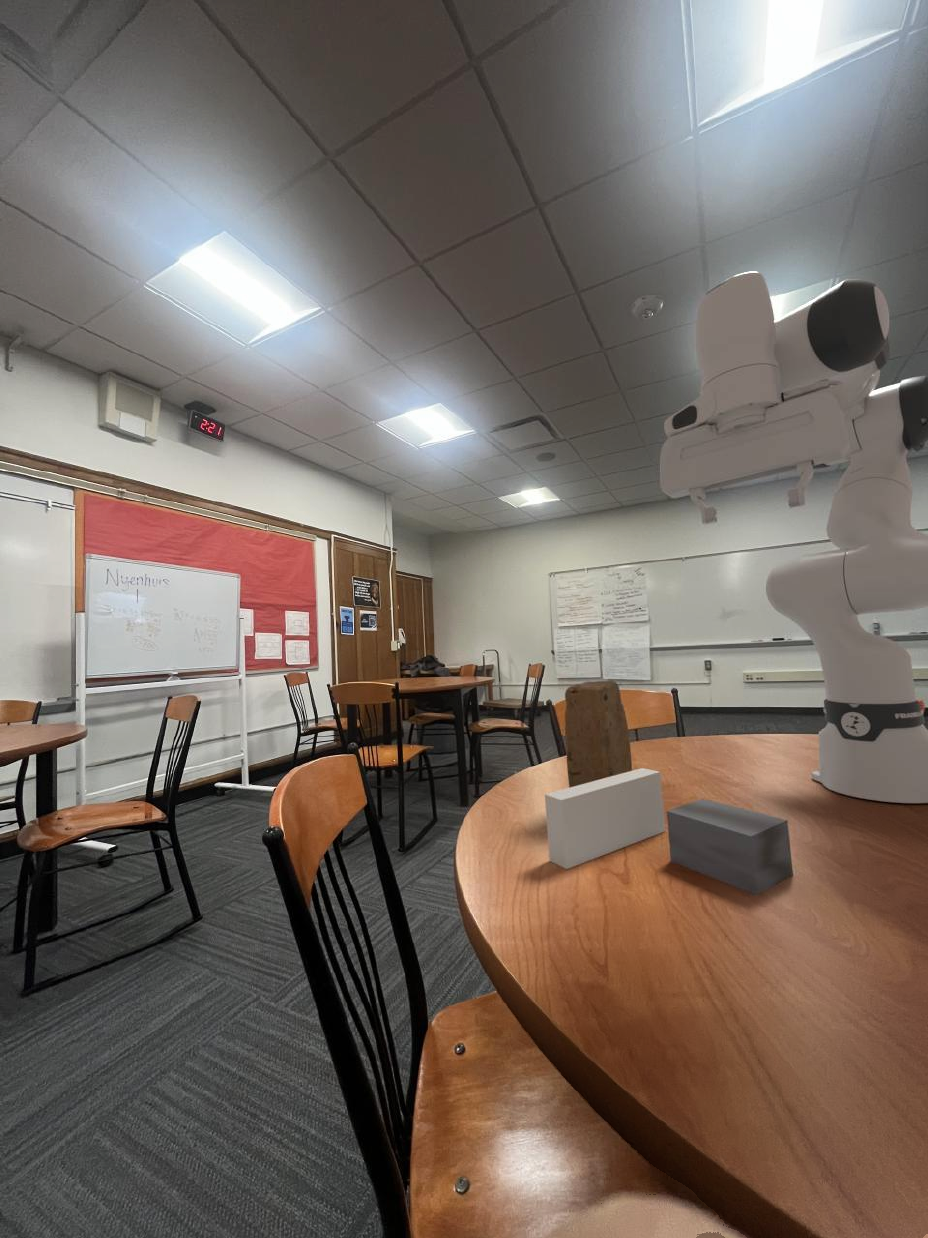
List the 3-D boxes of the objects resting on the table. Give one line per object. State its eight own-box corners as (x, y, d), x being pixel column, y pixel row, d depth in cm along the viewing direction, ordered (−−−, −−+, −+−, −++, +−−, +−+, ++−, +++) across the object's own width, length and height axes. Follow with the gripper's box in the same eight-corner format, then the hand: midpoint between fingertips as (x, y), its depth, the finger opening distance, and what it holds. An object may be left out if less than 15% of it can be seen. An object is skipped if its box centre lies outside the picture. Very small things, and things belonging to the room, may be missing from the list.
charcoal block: (707, 847, 61) (702, 798, 61) (793, 876, 52) (787, 820, 53) (671, 862, 58) (666, 811, 58) (757, 897, 49) (751, 836, 49)
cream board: (647, 825, 69) (642, 768, 69) (665, 831, 66) (660, 771, 67) (549, 860, 60) (544, 794, 60) (566, 869, 57) (561, 800, 57)
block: (611, 824, 70) (600, 685, 71) (565, 815, 75) (555, 685, 76) (641, 803, 78) (631, 678, 79) (598, 796, 83) (589, 679, 84)
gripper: (846, 383, 57) (859, 499, 56) (666, 439, 70) (674, 534, 69) (844, 360, 52) (858, 487, 51) (651, 425, 65) (659, 527, 64)
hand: (751, 514), depth 60 cm, fingers open, 8 cm apart
